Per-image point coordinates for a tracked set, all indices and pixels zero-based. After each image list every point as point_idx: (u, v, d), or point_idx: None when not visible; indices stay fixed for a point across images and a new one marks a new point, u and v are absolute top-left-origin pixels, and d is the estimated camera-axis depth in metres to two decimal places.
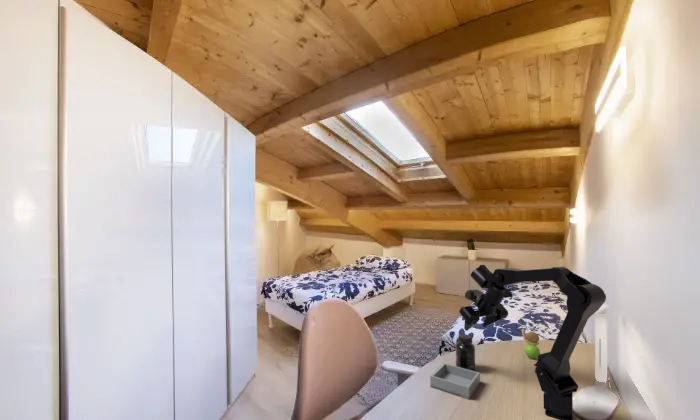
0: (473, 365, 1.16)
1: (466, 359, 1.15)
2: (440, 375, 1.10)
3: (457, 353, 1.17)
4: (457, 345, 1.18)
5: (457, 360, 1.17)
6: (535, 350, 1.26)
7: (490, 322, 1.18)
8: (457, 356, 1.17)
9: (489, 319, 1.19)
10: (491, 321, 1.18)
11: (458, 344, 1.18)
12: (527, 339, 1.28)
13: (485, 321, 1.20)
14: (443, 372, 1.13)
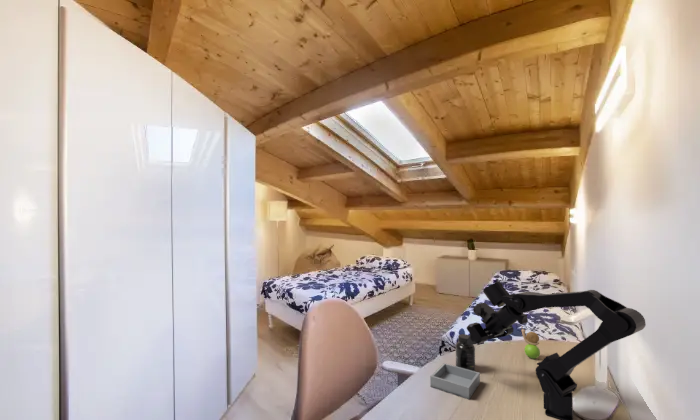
0: (473, 365, 1.16)
1: (466, 359, 1.15)
2: (440, 375, 1.10)
3: (457, 353, 1.17)
4: (457, 345, 1.18)
5: (457, 360, 1.17)
6: (535, 350, 1.26)
7: (493, 337, 1.14)
8: (457, 356, 1.17)
9: None
10: (494, 336, 1.13)
11: (458, 344, 1.18)
12: (527, 339, 1.28)
13: (487, 334, 1.16)
14: (443, 372, 1.13)
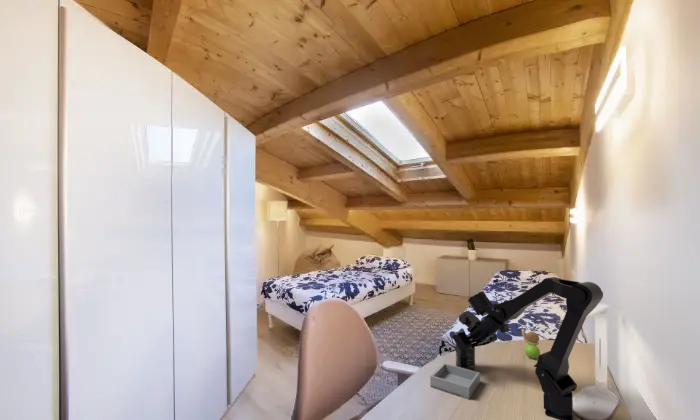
0: (473, 365, 1.16)
1: (466, 359, 1.15)
2: (440, 375, 1.10)
3: (457, 353, 1.17)
4: None
5: (457, 360, 1.17)
6: (535, 350, 1.26)
7: (476, 345, 1.19)
8: (457, 356, 1.17)
9: (475, 341, 1.19)
10: (477, 344, 1.18)
11: None
12: (527, 339, 1.28)
13: (471, 342, 1.20)
14: (443, 372, 1.13)
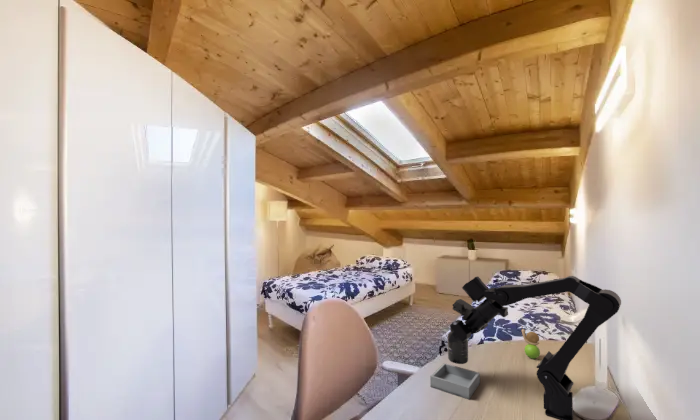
0: (467, 355, 1.10)
1: (461, 349, 1.08)
2: (440, 375, 1.10)
3: (451, 344, 1.10)
4: None
5: (451, 352, 1.10)
6: (535, 350, 1.26)
7: None
8: (451, 347, 1.10)
9: None
10: None
11: None
12: (527, 339, 1.28)
13: None
14: (443, 372, 1.13)
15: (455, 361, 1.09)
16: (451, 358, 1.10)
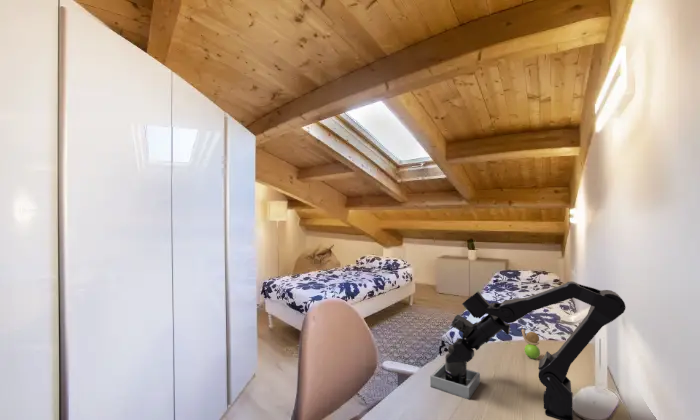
0: (466, 378, 1.05)
1: (462, 372, 1.03)
2: (440, 375, 1.10)
3: (450, 368, 1.04)
4: None
5: (450, 375, 1.04)
6: (535, 350, 1.26)
7: None
8: (450, 371, 1.04)
9: None
10: None
11: None
12: (527, 339, 1.28)
13: None
14: (443, 372, 1.13)
15: None
16: None
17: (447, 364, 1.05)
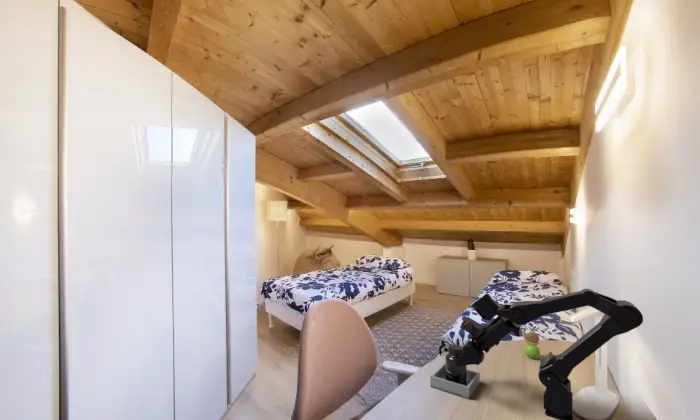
0: (466, 378, 1.05)
1: (462, 372, 1.03)
2: (440, 375, 1.10)
3: (450, 368, 1.04)
4: (449, 358, 1.05)
5: (450, 375, 1.04)
6: (535, 350, 1.26)
7: None
8: (450, 371, 1.04)
9: None
10: None
11: (450, 357, 1.05)
12: (527, 339, 1.28)
13: None
14: (443, 372, 1.13)
15: None
16: None
17: (447, 364, 1.05)
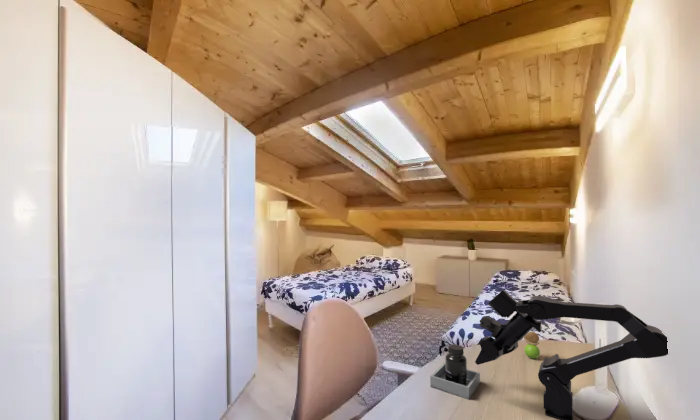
0: (466, 378, 1.05)
1: (462, 372, 1.03)
2: (440, 375, 1.10)
3: (450, 368, 1.04)
4: (449, 358, 1.05)
5: (450, 375, 1.04)
6: (535, 350, 1.26)
7: None
8: (450, 371, 1.04)
9: None
10: None
11: (450, 357, 1.05)
12: (527, 339, 1.28)
13: None
14: (443, 372, 1.13)
15: None
16: None
17: (447, 364, 1.05)
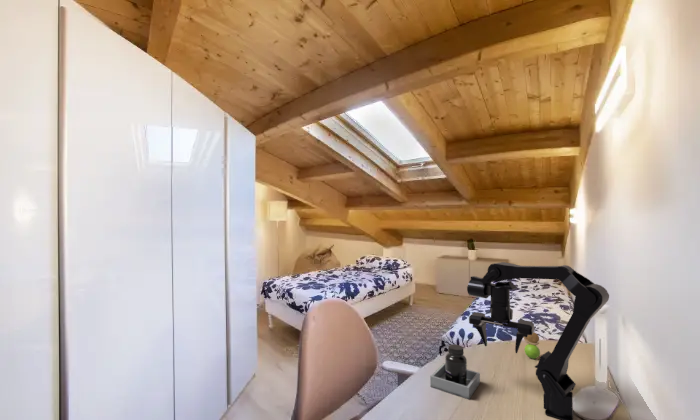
0: (466, 378, 1.05)
1: (462, 372, 1.03)
2: (440, 375, 1.10)
3: (450, 368, 1.04)
4: (449, 358, 1.05)
5: (450, 375, 1.04)
6: (535, 350, 1.26)
7: (516, 343, 1.00)
8: (450, 371, 1.04)
9: None
10: (516, 340, 1.00)
11: (450, 357, 1.05)
12: (527, 339, 1.28)
13: None
14: (443, 372, 1.13)
15: None
16: None
17: (447, 364, 1.05)
